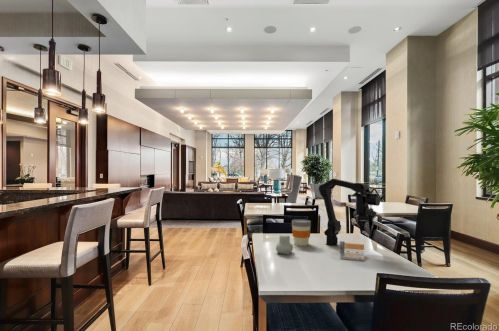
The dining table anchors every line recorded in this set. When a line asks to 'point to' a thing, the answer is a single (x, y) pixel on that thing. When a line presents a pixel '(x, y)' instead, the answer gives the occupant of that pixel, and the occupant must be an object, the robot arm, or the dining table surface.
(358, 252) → the chassis board
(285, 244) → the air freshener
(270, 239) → the dining table surface
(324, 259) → the dining table surface
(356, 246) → the cable arm
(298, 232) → the reusable coffee cup
